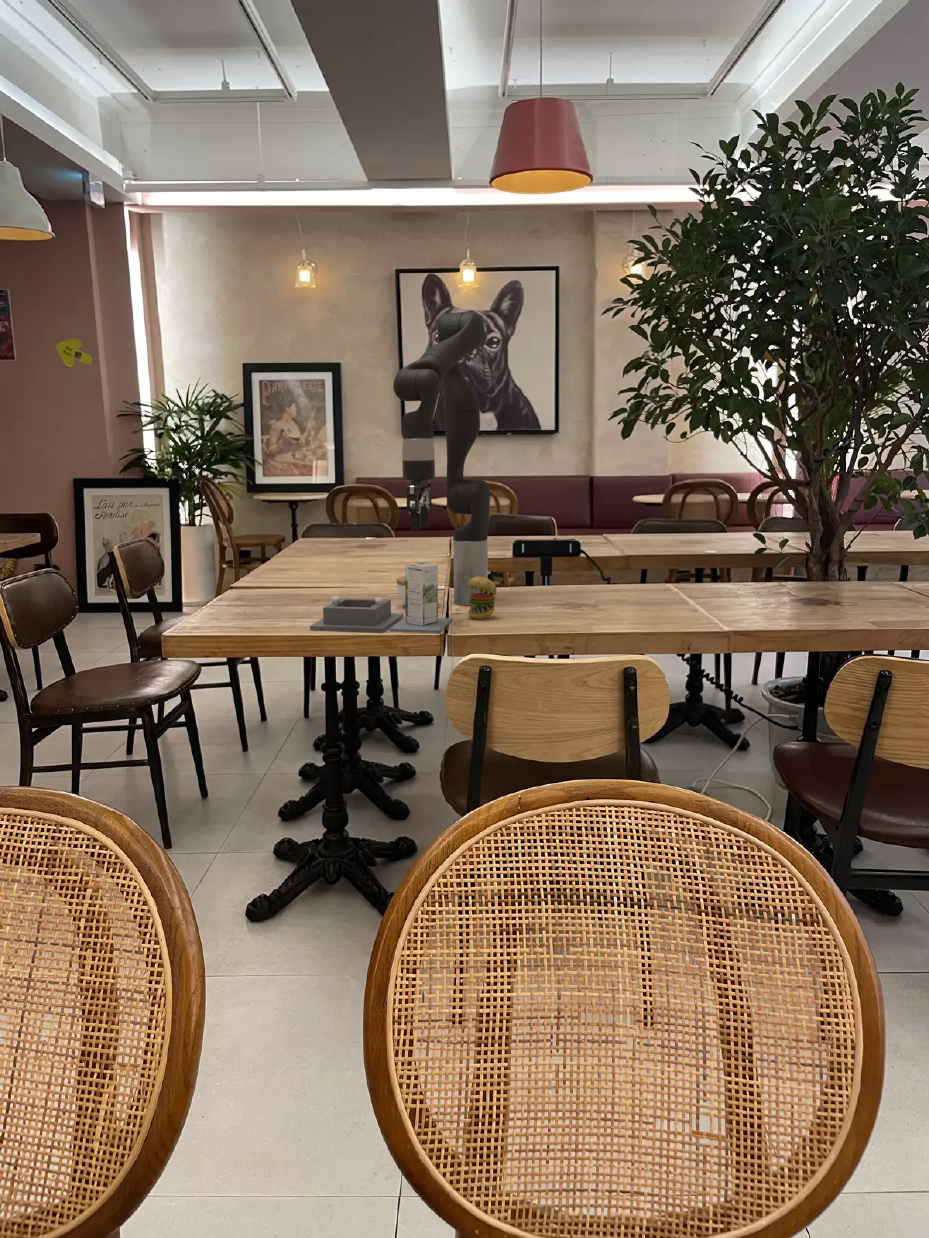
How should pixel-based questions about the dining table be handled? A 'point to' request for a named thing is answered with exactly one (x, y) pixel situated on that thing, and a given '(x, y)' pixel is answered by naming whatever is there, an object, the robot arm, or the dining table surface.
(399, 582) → the lidded jar
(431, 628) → the mat
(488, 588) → the hamburger
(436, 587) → the syrup box
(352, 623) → the holder
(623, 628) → the dining table surface
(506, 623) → the dining table surface
